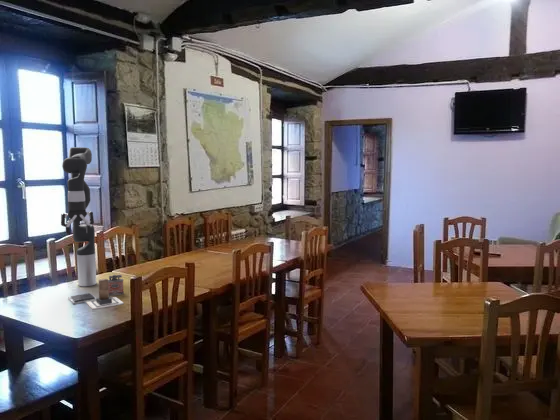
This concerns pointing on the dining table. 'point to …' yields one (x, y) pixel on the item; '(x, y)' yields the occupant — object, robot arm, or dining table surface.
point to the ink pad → (82, 298)
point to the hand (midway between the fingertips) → (78, 234)
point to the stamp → (103, 292)
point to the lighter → (115, 285)
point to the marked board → (96, 306)
